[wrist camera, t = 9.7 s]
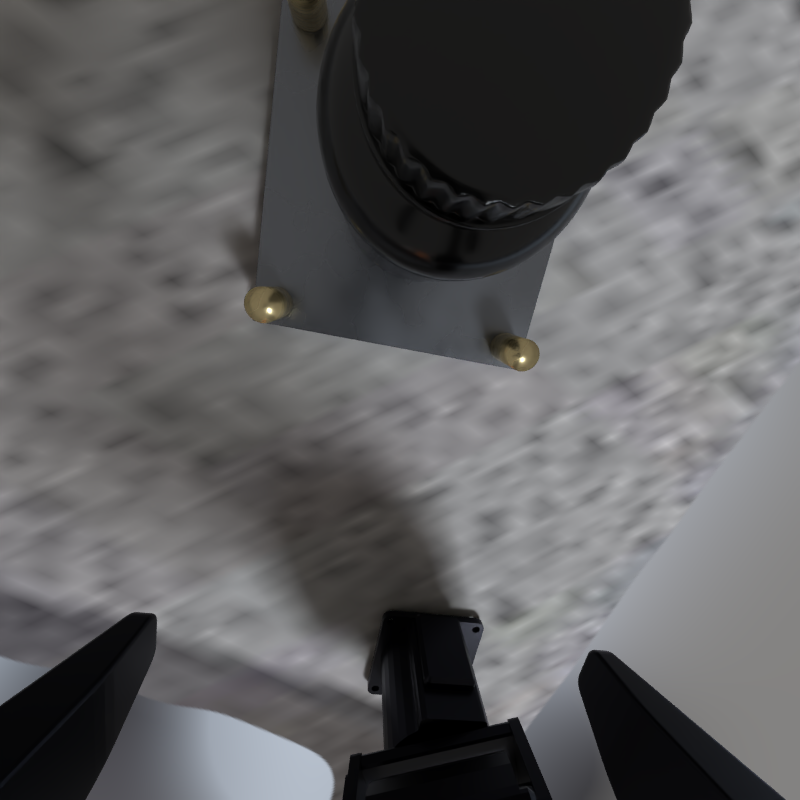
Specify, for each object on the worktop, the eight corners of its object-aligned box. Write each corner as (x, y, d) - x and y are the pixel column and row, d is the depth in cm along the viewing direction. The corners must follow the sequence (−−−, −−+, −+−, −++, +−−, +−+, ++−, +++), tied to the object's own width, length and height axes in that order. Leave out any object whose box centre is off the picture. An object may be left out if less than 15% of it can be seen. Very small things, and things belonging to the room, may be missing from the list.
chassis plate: (511, 366, 20) (538, 381, 17) (257, 318, 18) (234, 325, 15) (592, 78, 16) (646, 27, 13) (289, -16, 15) (268, -99, 12)
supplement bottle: (403, 68, 15) (514, -625, 4) (528, 183, 17) (880, -43, 5) (310, 220, 16) (176, 66, 5) (434, 313, 18) (552, 361, 6)
